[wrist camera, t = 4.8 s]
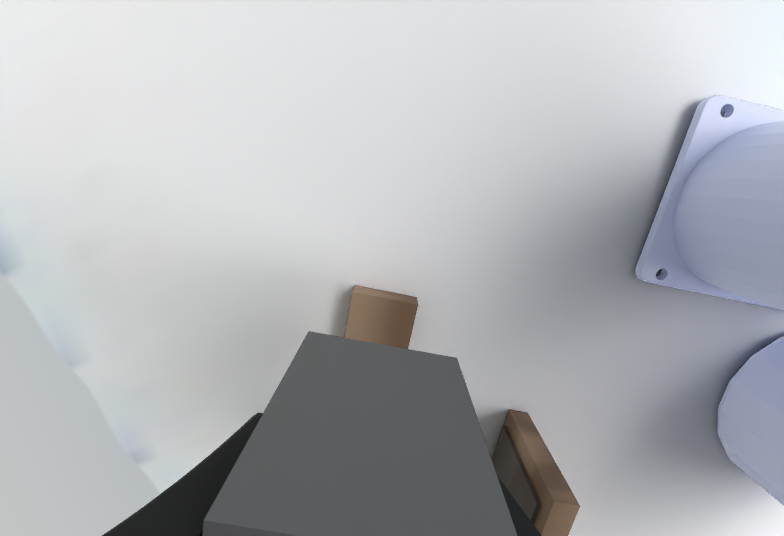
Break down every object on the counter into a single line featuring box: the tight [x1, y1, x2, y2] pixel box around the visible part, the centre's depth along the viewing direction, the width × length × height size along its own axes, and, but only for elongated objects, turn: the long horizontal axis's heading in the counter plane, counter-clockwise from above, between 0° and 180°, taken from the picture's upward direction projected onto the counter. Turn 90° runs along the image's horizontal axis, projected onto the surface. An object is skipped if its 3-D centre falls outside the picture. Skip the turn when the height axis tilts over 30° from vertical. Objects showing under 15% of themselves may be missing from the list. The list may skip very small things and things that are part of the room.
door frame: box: [344, 285, 580, 536], centre depth 17 cm, size 10×18×6 cm, turn 168°
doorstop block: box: [202, 331, 517, 536], centre depth 8 cm, size 4×4×6 cm
